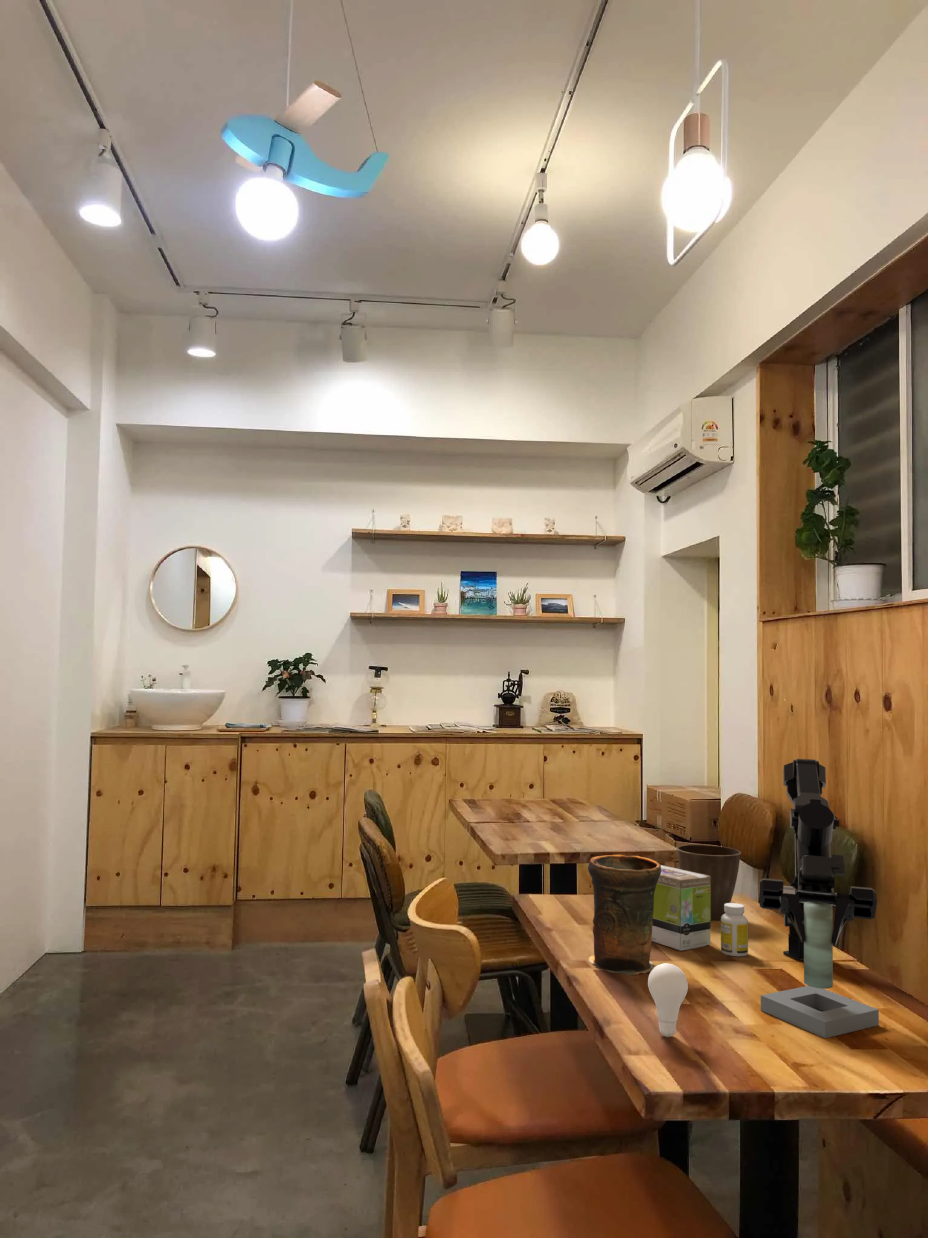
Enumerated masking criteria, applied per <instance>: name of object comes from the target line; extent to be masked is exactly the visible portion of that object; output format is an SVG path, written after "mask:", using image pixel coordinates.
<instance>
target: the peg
mask: <svg viewBox="0 0 928 1238" xmlns="http://www.w3.org/2000/svg"><path fill="white" fill-rule="evenodd" d="M833 927H834V918H833V905H830V904H827V903H822V902H805V903H804V938H805V940H804V961H803V983H804V984H805V986H811V987H815V988H822V989H826V990H828V989H833V988H834V987H833V986H834V978H833V977H834V968H833V967H834V966H833V965H834V963H833V962H834V961H833V959H834V956H833V955H834V951H833V950H834V949H833V947H834V946H833Z"/></svg>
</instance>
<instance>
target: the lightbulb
mask: <svg viewBox="0 0 928 1238" xmlns="http://www.w3.org/2000/svg"><path fill="white" fill-rule="evenodd" d="M654 967H655V968H654V969H653V970H652V971H651V972H649V975H648V978H647V986H648V990H649V992H650V995H651V997H652V999H653V1001H654V1004H655V1008H656V1017H657V1019H658V1030H659V1031H658V1032H659V1033H661V1034H662V1035H663V1036H664V1037H666V1038H670V1037H672V1036H674V1035H675V1034H676V1030H677V1021H678V1019H679V1013H680V1012H679V1011H680V1007H681V1005H682V1003H683V1002H684V1000H685V998H686V996H687V993H688V991H689V983H688V979H687V977H686V974H685V973H684V972H683V970H682V969H681V968H680V967H679V966H677V965H675V964H672V963H667V962H666V963H661V964H658V965H656V966H654Z"/></svg>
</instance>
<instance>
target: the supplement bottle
mask: <svg viewBox="0 0 928 1238" xmlns="http://www.w3.org/2000/svg"><path fill="white" fill-rule="evenodd" d="M724 911H725V914H723V915H722V916H721V920H720V951H721V953H722V954H724V955H726V956H729V955H730V957H745V956H747V955H748V954H749V925H748V923H749V921H748V918H747V917H746V916H745V915H744V914H745V905H743V904H742V903H741V904H740V903H736V902H731V903H726V904H724Z"/></svg>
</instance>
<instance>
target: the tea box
mask: <svg viewBox="0 0 928 1238" xmlns="http://www.w3.org/2000/svg"><path fill="white" fill-rule="evenodd" d="M660 866H661V874H660V876H659V879H658V882H657V885H656V888H655V892H654V912H653V925H652V939H651V942H653V943H656V944H660V945H663V946H665V947H668V948H669V947H670V948H672V949H674V950H678V951H680V952H681V951H687V950H694V949H698V948H703V947H707V946H706V945H708V946H710V945H711V931H712V930H711V926H712V925H711V923H712V921H711V881H710V879H711V877H710V876H708V875H704V874H699V873H695V872H690V871H686V870H682V869H680V868H676V867H672V866H667V865H662V864H660Z"/></svg>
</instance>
